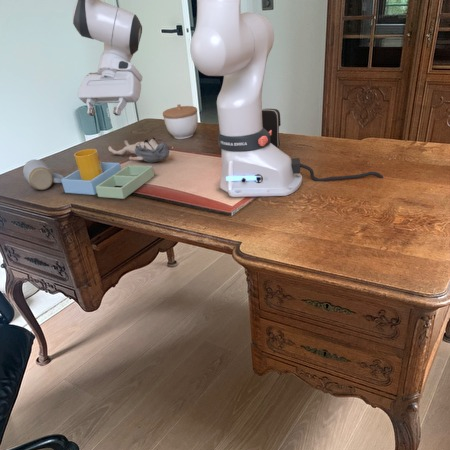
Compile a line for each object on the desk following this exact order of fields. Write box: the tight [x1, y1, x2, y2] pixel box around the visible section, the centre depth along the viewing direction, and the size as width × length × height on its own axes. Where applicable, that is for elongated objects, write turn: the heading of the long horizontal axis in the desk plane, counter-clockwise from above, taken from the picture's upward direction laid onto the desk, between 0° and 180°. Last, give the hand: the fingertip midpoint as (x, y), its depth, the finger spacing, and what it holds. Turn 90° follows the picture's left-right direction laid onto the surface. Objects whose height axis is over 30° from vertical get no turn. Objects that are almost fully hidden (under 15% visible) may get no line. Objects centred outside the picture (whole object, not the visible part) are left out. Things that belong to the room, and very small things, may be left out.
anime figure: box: [107, 137, 170, 164], centre depth 146 cm, size 10×7×30 cm
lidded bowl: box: [162, 103, 199, 140], centre depth 162 cm, size 13×13×11 cm
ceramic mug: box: [22, 158, 65, 191], centre depth 134 cm, size 11×8×8 cm
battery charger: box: [262, 108, 282, 148], centre depth 142 cm, size 7×4×11 cm, turn 58°
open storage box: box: [61, 161, 122, 196], centre depth 132 cm, size 11×15×4 cm
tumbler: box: [73, 148, 103, 181], centre depth 130 cm, size 7×7×9 cm
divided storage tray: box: [96, 164, 156, 200], centre depth 128 cm, size 9×17×3 cm, turn 157°
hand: (103, 114), depth 131 cm, fingers open, 8 cm apart
